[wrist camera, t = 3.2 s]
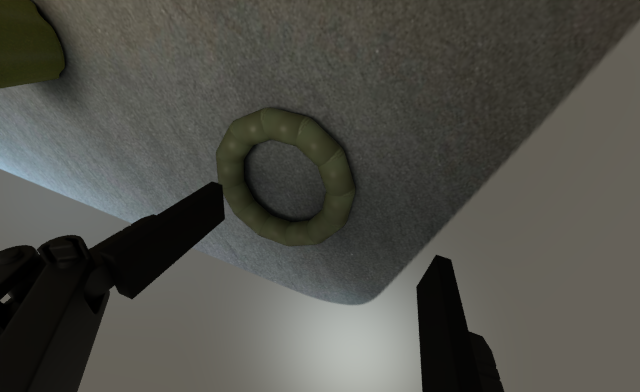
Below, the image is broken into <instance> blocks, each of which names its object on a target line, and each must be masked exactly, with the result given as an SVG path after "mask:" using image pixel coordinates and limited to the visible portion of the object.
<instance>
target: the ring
mask: <svg viewBox="0 0 640 392" xmlns="http://www.w3.org/2000/svg"><path fill="white" fill-rule="evenodd" d="M271 139H272V140H276V141H279V142H283V143H286V144H290V145H293V146H296V147H297V148H298V149H299V150H300V151H302V152H303V153H304V154H305V155H306V156H307V157H308V158H309V159H310V160H311V161H312V162H313V163H314V164H315V165H316V166H317V167H318V169H319V172H320V175H321V178H322V180H323V183H324V186H325V189H326V194H325V199H324V204H323V209H322V210H321V211H320V212H319V213H318V214H317V215H315V216H314V217H313V218H312V219H311V220H308V221H300V222H289V221H286V220H283V219H280V218H278V217H275V216H272V215H271V214H269V213H268V212H267V211H266V210H265V209H264V208H263V207H262V206H260V205H259V204H258V203H257V202H256V201H255V200H254V199H253V197H252V195H251V193H250V191H249V189H248V187H247V185H246V183H245V181H244V159H245V157H246V156H247V154H248V152H249V151H250V149H251V148H252V146H253V145H255V144H258V143H262V142H265V141H268V140H271ZM216 161H217V173H218V184H221V185H223V194H224V196H225V198H226V200H227V202H228V203H229V205H230V207H231V209H232V211H233V212H234V214H235V215H236V216H237V217H238V218H239V219H240V220H242V221H243V222H244V223H245V224H246V225H247V226H249V227H250V228H251V229H252V230H253V231H254V232H255V233H257V234H258V235H259V236H262V237H264V238H267V239H270V240H272V241H275V242H278V243H280V244H283V245H286V246H302V245H315V244H320V243H322V242H323V241H325V240H326V239H327V238H329V237H330V236H331V235H333V234H334V233H335V232H337V231H338V230H339V229H341V228H342V227H343V226H344V225H345V224H346V222H347V219H348V215H349V212H350V208H351V205H352V201H353V198H354V194H355V185H354V182H353V178H352V175H351V172H350V169H349V165H348V162H347V159H346V156H345V153H344V150H343V149H342V147H341V146H340V145H339V144H338V143H337V142H336V141H335V140H333V139H332V138H331V137H330V136H329V135H328V134H327V133H326V132H325V131H324V130H323V129H322V128H321V127H320V126H319V125H318V124H317V123H316V122H315V121H314V120H313V119H311V118H309V117H307V116H303V115H299V114H295V113H291V112H287V111H283V110H279V109H275V108H270V107H269V108H264V109H261V110H259V111H256V112H254V113H251V114H249V115H246V116H244V117H241V118H239V119H236V120H235V121H233V122H232V123H231V125H230V126H229V128H228V130H227V132H226V134H225V136H224V138H223V139H222V141H221V143H220V145H219V147H218V149H217V151H216Z"/></svg>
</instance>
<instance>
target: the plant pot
mask: <svg viewBox="0 0 640 392" xmlns="http://www.w3.org/2000/svg"><path fill="white" fill-rule="evenodd" d="M64 67H65V62H64V56H63V52H62V48H61V46H60V43H59V40H58V38H57V36H56V34H55V32H54V30H53V28H52V27H51V25H50V24H48V23H47V22H46V21H45V20H44V19H43V18H42V17H41V16H40V15H39V13H38V12H37V7H36V6H35V5H34V4H33V3H32V2H31V1H30V0H0V88H6V87H11V86H17V85H23V84H29V83H35V82H41V81H47V80H53V79H58V78H59V74H60V72H61V71H62V70H63V69H64Z"/></svg>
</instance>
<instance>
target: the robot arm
mask: <svg viewBox="0 0 640 392" xmlns="http://www.w3.org/2000/svg"><path fill="white" fill-rule="evenodd" d="M224 219H225V214H224V200H223V185H221V184H218V183H215V182H210V183H209V184H207V185H205V186H204V187H202V188H201V189H199V190H197V191H196V192H194V193H192V194H191V195H189V196H187V197H186V198H184V199H183V200H181V201H179V202H178V203H176V204H174V205H173V206H171V207H170V208H168V209H166V210H165V211H163V212H161V213H160V214H158V215H154V214H153V215H150V216H147V217H144V218H141V219H140V220H138V221H136V222H134V223H133V224H131V226H128V227H126V228H124V229H123V230H122V231H119V232H118V233H116V234H114V235H112V236H111V237H109V238H107V239H106V240H104V241H102V242H101V243H99V244H97V245H95V246H94V247H92V248H90V249H88V248H87V246H86V244H85V242H84V240H83V239H82V238H81V237H80V236H76V235H67V236H61V237H58V238H55V239H52V240H49V241H48V242H46V243H44V244H42V245H41V246H40V247H39V248H38V249H37V251H38V252H39V253H40V255H39V254H38V252H37V251H36V249H35V248H34V247H32V246H28V245H22V246H15V247H11V248H7V249H5V250H2V251H0V300H1V299H2V298H3V297H4V296H5V295H6V294H7V293H8V295H9V296H10V297H11V298H10V299H9V300H8V301H6V302H5V303H4V304H3V303H1V301H0V392H77V391H78V388H79V385H80V382H81V379H82V376H83V373H84V370H85V367H86V364H87V361H88V358H89V355H90V352H91V349H92V346H93V343H94V340H95V337H96V334H97V331H98V329H99V326H100V323H101V319H102V317H103V314H104V311H105V308H106V305H107V302H108V299H109V295H110V291H109V289H110V288H112V287H113V286H114V285H115V286H116V288H117V290H118V292H119V293H120V294H122V295H124V296H126V297H129V298H130V299H133V298H134V297H135V296H137V294H139V293H140V292H141V291H142V290H144V289H145V288H146V287H147V286H148V285H149V284H150V283H152V282H153V281H154V280H155V279H156V278H157V277H159V276H160V275H161V274H162V273H163V272H164V271H165V270H167V269H168V268H169V267H170V266H171V265H172V264H174V263H175V262H176V261H177V260H178V259H179V258H180V257H182V256H183V255H184V254H185V253H186V252H187V251H188V250H189V249H191V248H192V247H193V246H194V245H195V244H197V243H198V242H199V241H200V240H201V239H202V238H204V237H205V236H206V235H207V234H208V233H209V232H210V231H212V230H213V229H214V228H215V227H216V226H217V225H219V224H220V223H221V222H222V221H223V220H224ZM416 288H417V304H418V322H419V337H420V338H419V339H420V355H421V356H420V357H421V374H422V391H423V392H504V389H503V386H502V383H501V381H500V377H499V373H498V370H497V369H496V363H495V360H494V357H493V354H492V351H491V349H490V348H489V346H488V344H487V343H486V341H485V340H484V338H483V337H482V336H480V335H477V334H475V333H472V332H469V331H468V327H467V323H466V319H465V315H464V311H463V307H462V303H461V299H460V294H459V290H458V286H457V282H456V278H455V274H454V270H453V266H452V262H451V260H450V259H448V258H444V257H442V256H439V255H436V256H435V257H434V259H433V261H432V262H431V264H430V266H429V267H428V269H427V271H426V272H425V274H424V275H423V277H422V279H421V280H420V282H419V284H418V285H417V287H416Z"/></svg>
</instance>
